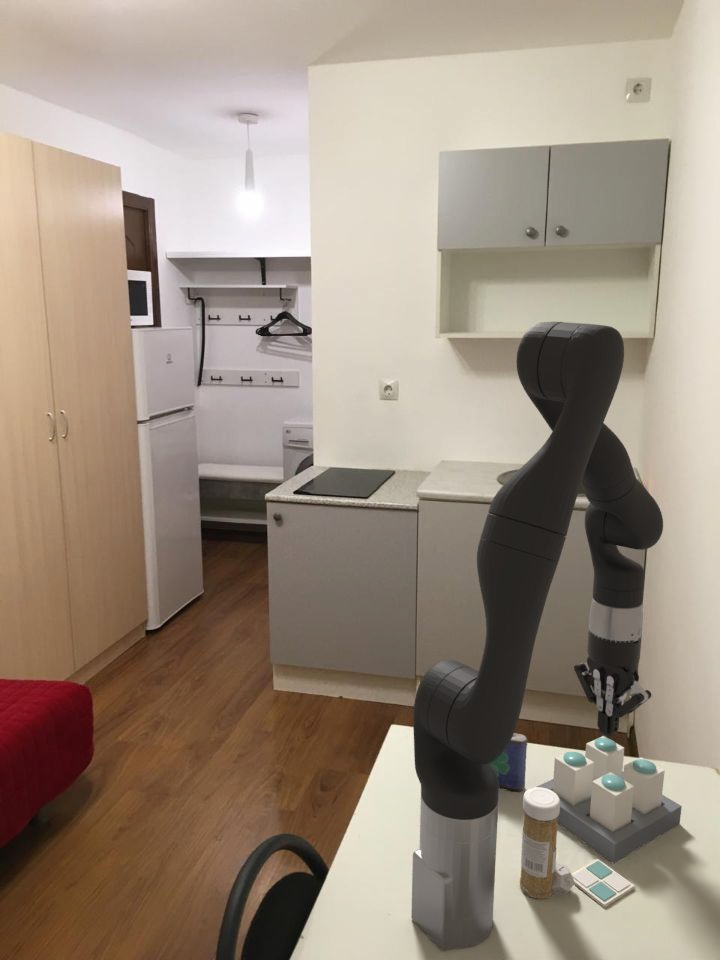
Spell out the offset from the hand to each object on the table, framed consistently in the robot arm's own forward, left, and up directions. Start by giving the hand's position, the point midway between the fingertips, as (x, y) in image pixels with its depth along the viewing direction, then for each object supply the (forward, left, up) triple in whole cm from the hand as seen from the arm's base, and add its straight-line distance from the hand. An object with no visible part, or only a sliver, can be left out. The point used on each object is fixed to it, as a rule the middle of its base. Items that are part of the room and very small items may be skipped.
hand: (607, 733), depth 117 cm
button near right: (-7, -7, -8) cm, 13 cm away
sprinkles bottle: (-23, -8, -11) cm, 27 cm away
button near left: (-7, 0, -8) cm, 11 cm away
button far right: (0, -7, -8) cm, 11 cm away
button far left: (0, 0, -8) cm, 8 cm away
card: (-16, -12, -11) cm, 23 cm away
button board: (-4, -3, -11) cm, 12 cm away
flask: (-12, +12, -11) cm, 20 cm away
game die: (-21, -10, -11) cm, 26 cm away
